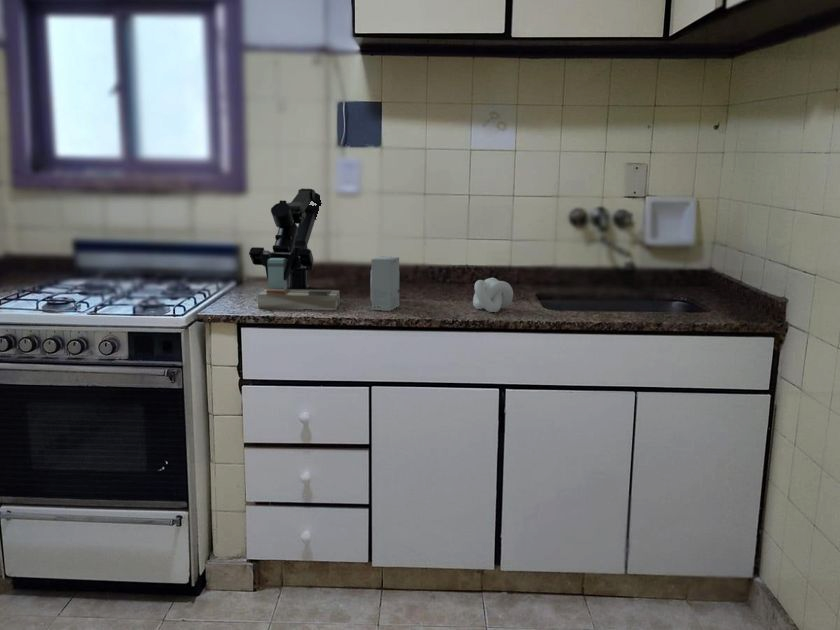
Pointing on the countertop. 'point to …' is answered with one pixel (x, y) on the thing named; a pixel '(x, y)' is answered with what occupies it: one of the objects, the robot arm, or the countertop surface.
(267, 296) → the socket board
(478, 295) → the white knot
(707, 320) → the countertop surface
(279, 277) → the teal lidded box
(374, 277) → the skincare box
